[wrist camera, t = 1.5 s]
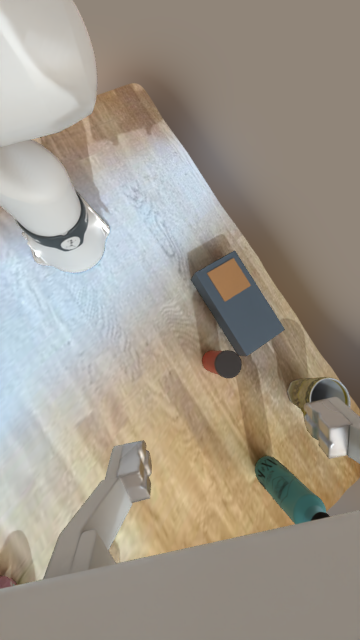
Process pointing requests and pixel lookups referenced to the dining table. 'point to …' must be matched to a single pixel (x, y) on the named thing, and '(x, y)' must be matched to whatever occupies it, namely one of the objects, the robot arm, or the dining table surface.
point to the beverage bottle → (289, 491)
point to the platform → (237, 304)
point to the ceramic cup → (316, 391)
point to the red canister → (222, 363)
